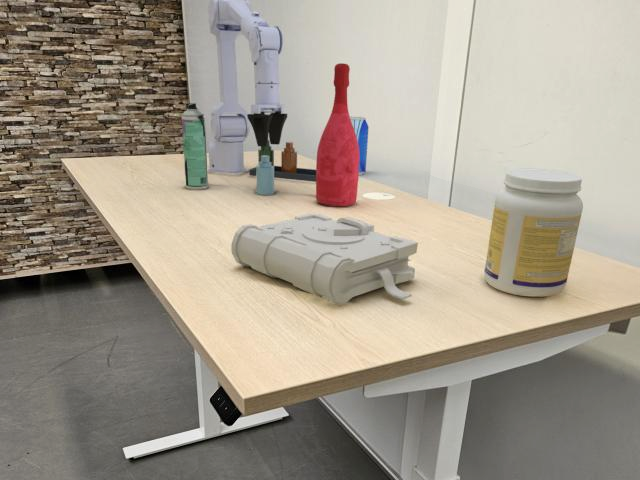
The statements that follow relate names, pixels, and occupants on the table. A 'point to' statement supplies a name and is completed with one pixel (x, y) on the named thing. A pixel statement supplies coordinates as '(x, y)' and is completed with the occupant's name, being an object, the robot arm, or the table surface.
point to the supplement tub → (534, 232)
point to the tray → (291, 174)
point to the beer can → (361, 140)
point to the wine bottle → (338, 150)
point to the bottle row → (286, 157)
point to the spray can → (194, 148)
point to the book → (327, 256)
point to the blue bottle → (265, 176)
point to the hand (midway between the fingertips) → (268, 145)
